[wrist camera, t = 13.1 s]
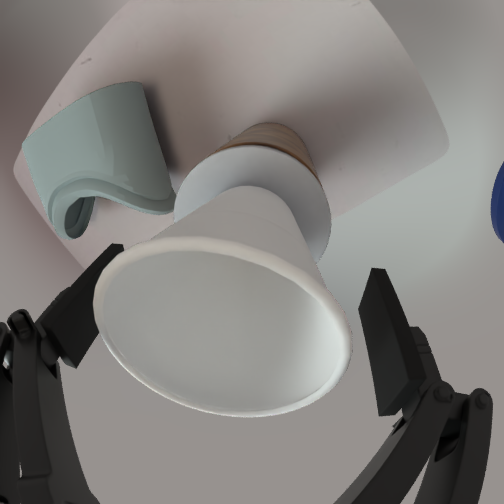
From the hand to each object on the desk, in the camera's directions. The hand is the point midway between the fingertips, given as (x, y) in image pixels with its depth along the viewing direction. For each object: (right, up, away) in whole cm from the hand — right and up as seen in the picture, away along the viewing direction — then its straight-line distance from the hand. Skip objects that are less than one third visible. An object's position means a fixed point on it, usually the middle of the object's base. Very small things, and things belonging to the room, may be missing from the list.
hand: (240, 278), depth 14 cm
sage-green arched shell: (-22, +17, +26) cm, 38 cm away
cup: (0, +3, +5) cm, 6 cm away
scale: (+1, +4, +7) cm, 8 cm away
